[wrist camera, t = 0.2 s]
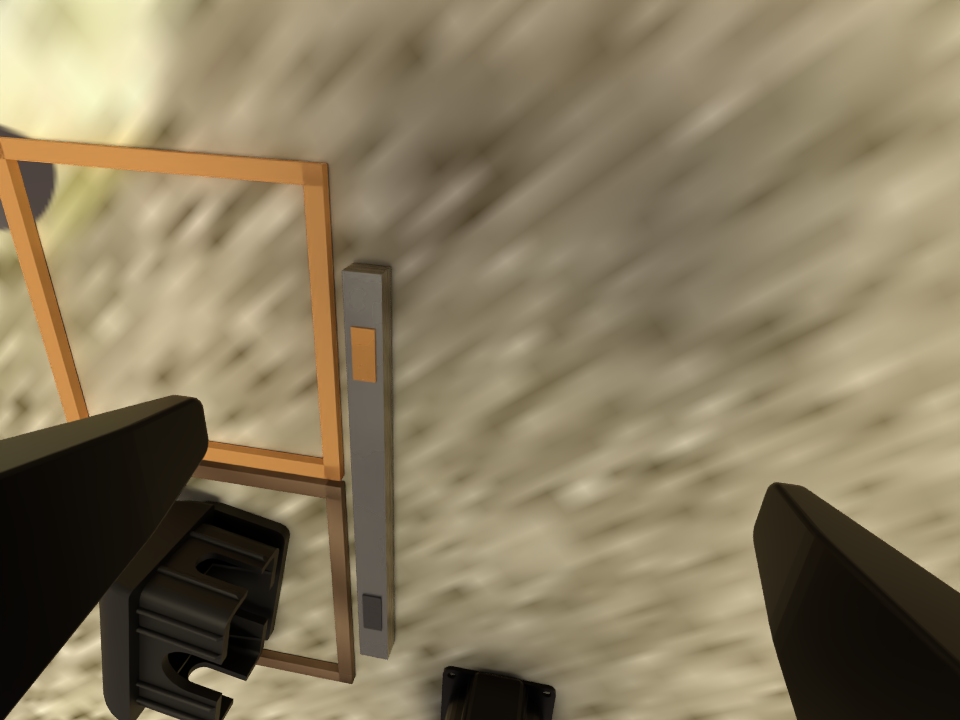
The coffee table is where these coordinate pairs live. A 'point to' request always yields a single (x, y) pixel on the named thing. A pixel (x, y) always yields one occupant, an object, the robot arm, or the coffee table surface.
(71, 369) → the orange marked frame
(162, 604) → the end cap
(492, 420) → the coffee table surface
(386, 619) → the metal rail
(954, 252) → the coffee table surface
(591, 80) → the coffee table surface
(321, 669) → the walnut seat frame
